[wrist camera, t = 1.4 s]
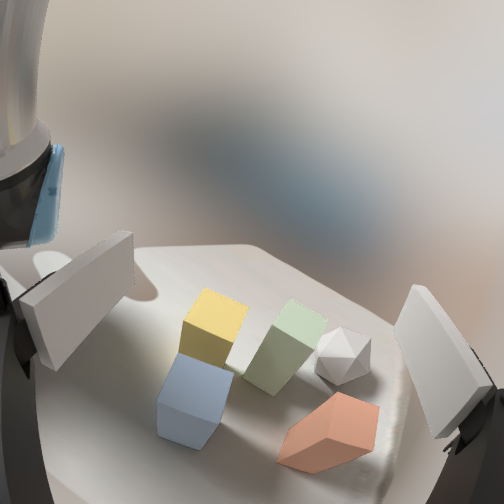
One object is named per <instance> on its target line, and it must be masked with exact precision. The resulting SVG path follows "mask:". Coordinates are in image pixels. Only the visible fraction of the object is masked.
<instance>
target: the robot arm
mask: <svg viewBox="0 0 504 504" xmlns="http://www.w3.org/2000/svg"><path fill="white" fill-rule="evenodd" d="M48 2H49V0H0V250H1V249H14V248H30V247H31V246H34V245H40V244H46V243H49V242H50V241H52V240H53V238H54V237H55V235H56V233H57V228H58V227H57V226H58V218H59V207H60V196H61V184H62V174H63V164H64V147H63V146H61V145H57V144H53V145H51V144H50V130H49V128H48V126H47V125H46V124H45V123H43V122H42V121H40V120H39V119H37V113H36V107H37V103H36V102H37V77H38V64H39V54H40V46H41V39H42V33H43V27H44V21H45V16H46V11H47V7H48ZM134 285H135V277H134V249H133V233H131V232H126V231H121V230H120V231H118V232H116V233H115V234H113V235H111V236H110V237H108V238H107V239H105V240H103V241H102V242H100V243H99V244H97V245H96V246H94V247H93V248H91V249H89V250H88V251H86V252H85V253H83V254H82V255H80V256H79V257H77V258H76V259H74V260H73V261H71V262H70V263H68V264H67V265H65V266H64V267H63V268H61V269H60V270H58V271H55V272H53V273H50V274H49V275H47V276H46V277H44V278H43V279H42V280H41V281H39V282H38V283H36V284H35V286H32V287H31V288H30V289H28V290H27V291H25V292H24V293H23V294H21V295H20V296H19V297H17V298H16V299H15V300H13V301H11V297H10V294H9V290H8V287H7V283H6V281H5V280H4V279H2V277H1V274H0V504H54V501H53V498H52V494H51V491H50V487H49V483H48V479H47V475H46V470H45V466H44V461H43V456H42V450H41V444H40V438H39V431H38V422H37V413H36V400H35V378H34V361H33V358H32V356H33V355H34V354H35V353H36V352H37V354H38V356H39V359H40V361H41V363H42V364H43V365H45V366H46V367H48V368H50V369H52V370H54V371H55V372H57V371H58V369H59V368H60V367H61V366H62V365H63V363H64V362H65V361H66V360H67V359H68V357H69V356H70V355H71V354H72V353H73V352H74V350H75V349H76V348H77V347H78V346H79V345H80V344H81V342H82V341H83V340H84V339H85V338H86V337H87V336H88V335H89V333H90V332H91V331H92V330H93V329H94V328H95V327H96V326H97V325H98V323H99V322H100V321H101V320H102V319H103V318H104V317H105V316H106V315H107V314H108V313H109V311H110V310H111V309H112V308H113V307H114V306H115V305H116V304H117V303H118V302H119V301H120V300H121V299H122V298H123V297H124V295H125V294H126V293H127V292H128V291H129V290H130V289H131V288H132V287H133V286H134ZM392 333H393V335H394V337H395V339H396V342H397V344H398V346H399V349H400V351H401V353H402V356H403V358H404V361H405V363H406V365H407V368H408V370H409V373H410V375H411V378H412V381H413V383H414V386H415V388H416V391H417V394H418V396H419V399H420V402H421V404H422V408H423V410H424V413H425V416H426V419H427V422H428V425H429V428H430V431H431V434H432V438H433V439H439V438H445V437H448V436H449V435H450V434H451V433H452V432H453V431H454V430H455V429H456V428H457V427H458V428H459V431H460V434H459V435H458V436H457V437H456V438H455V439H453V441H451V442H450V443H449V444H448V445H447V446H446V447H445V448H444V450H443V452H445V451H446V450H448V448H450V447H452V448H451V450H450V452H448V454H449V455H448V458H447V460H446V463H445V465H444V467H443V470H442V472H441V474H440V476H439V478H438V481H437V483H436V485H435V487H434V489H433V491H432V493H431V495H430V497H429V499H428V500H427V502H426V504H504V389H499V390H498V389H497V387H496V386H495V384H494V382H493V381H492V379H491V377H490V376H489V374H488V372H487V371H486V369H485V367H483V364H482V362H481V361H480V360H479V358H478V356H477V355H476V353H475V352H474V350H473V349H472V348H471V347H470V346H469V345H468V344H467V342H466V341H465V340H464V338H463V337H462V335H461V334H460V332H459V331H458V329H457V328H456V327H455V325H454V324H453V322H452V321H451V319H450V318H449V317H448V315H447V314H446V313H445V312H444V310H443V309H442V307H441V306H440V305H439V303H438V302H437V301H436V299H435V298H434V297H433V295H432V294H431V293H430V292H429V290H428V289H427V288H426V287H425V286H420V285H415V284H413V285H412V288H411V290H410V293H409V295H408V297H407V300H406V302H405V304H404V307H403V309H402V311H401V314H400V316H399V318H398V320H397V322H396V324H395V327H394V329H393V331H392Z"/></svg>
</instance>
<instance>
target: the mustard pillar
mask: <svg viewBox="0 0 504 504" xmlns="http://www.w3.org/2000/svg"><path fill="white" fill-rule="evenodd" d="M248 308H249V307H248V306H246V305H244V304H241V303H239V302H237V301H234V300H232V299H230V298H227V297H225V296H223V295H220V294H218V293H216V292H214V291H211V290H209V289H207V288H204V289H203V291H202V292H201V294H200V295H199V297H198V298H197V300H196V302H195V303H194V305H193V306H192V308H191V309H190V311H189V312H188V314H187V316H186V317H185V319H184V320H183V326H182V332H181V338H180V345H179V351H178V352H179V353H181V354H184V355H186V356H189V357H191V358H194V359H197V360H199V361H202V362H205V363H207V364H210V365H213V366H216V367H219V368H223V366H224V364H225V361H226V359H227V357H228V355H229V352H230V350H231V348H232V345H233V343H234V341H235V338H236V336H237V334H238V332H239V329H240V327H241V325H242V322H243V320H244V318H245V315H246V313H247V311H248Z"/></svg>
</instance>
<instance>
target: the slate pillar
mask: <svg viewBox="0 0 504 504" xmlns="http://www.w3.org/2000/svg"><path fill="white" fill-rule="evenodd" d="M233 375H234V373H233V372H230V371H227V370H224V369H222V368H219V367H216V366H213V365H210V364H207V363H205V362H202V361H199V360H197V359H194V358H191V357H189V356H186V355H184V354H181V353H179V352H178V354H177V356H176V358H175V360H174V362H173V365H172V367H171V369H170V371H169V374H168V376H167V378H166V380H165V382H164V385H163V387H162V389H161V391H160V394H159V396H158V398H157V401H156V413H157V435H158V436H160V437H163V438H165V439H168V440H170V441H173V442H176V443H178V444H181V445H184V446H187V447H190V448H193V449H196V450H199V451H200V450H201V449H202V447H203V446H204V445H205V443H206V442H207V441H208V439H209V438H210V436H211V435H212V434H213V432H214V431H215V429H216V428H217V427H218V425H219V423H220V420H221V416H222V413H223V410H224V406H225V403H226V399H227V396H228V393H229V389H230V386H231V382H232V379H233Z"/></svg>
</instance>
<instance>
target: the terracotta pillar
mask: <svg viewBox="0 0 504 504" xmlns="http://www.w3.org/2000/svg"><path fill="white" fill-rule="evenodd" d="M378 415H379V406H376V405H373V404H370V403H367V402H364V401H361V400H359V399H356V398H353V397H351V396H348V395H345V394H343V393H340V392H337V393H335V394H334V395H333V396H332V397H331V398H329V399H328V400H327V401H326V402H324V403H323V404H322V405H321V406H319V407H318V408H317V409H315V410H314V411H313V412H312V413H310V414H309V415H308V416H306V417H305V418H304V419H302V420H301V421H300V422H298V423H297V424H295V425H294V426H293V427H291V428H290V429H289V430H288V433H287V435H286V438H285V441H284V443H283V446H282V449H281V451H280V454H279V456H278V459H277V461H276V462H277V463H280V464H282V465H285V466H288V467H291V468H295V469H298V470H301V471H304V472H308V473H311V474H314V473H317V472H320V471H323V470H326V469H329V468H332V467H335V466H337V465H340V464H343V463H345V462H348V461H351V460H353V459H355V458H358V457H360V456H363V455H365V454H367V453H370V452H372V451H373V448H374V443H375V436H376V430H377V423H378Z"/></svg>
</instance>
